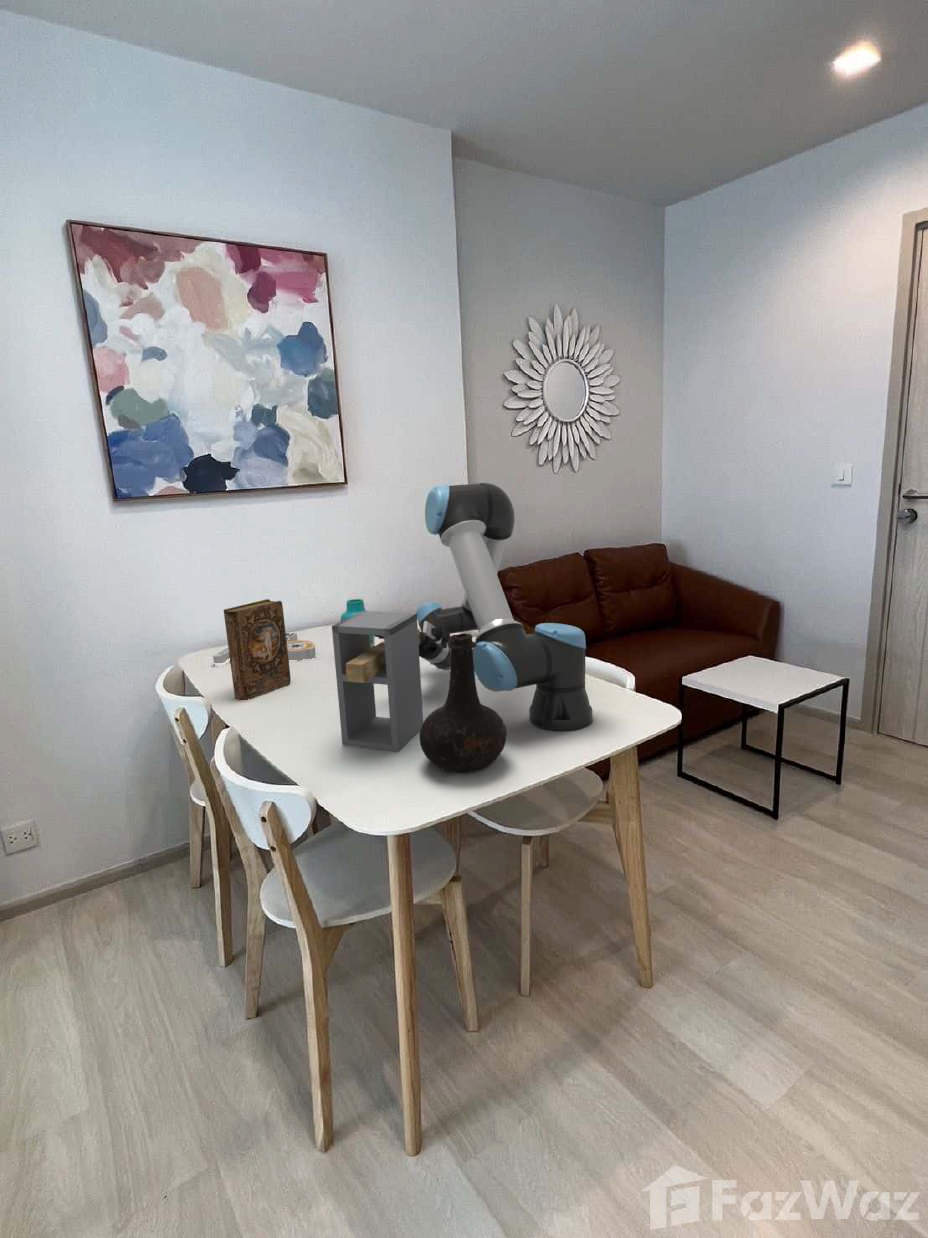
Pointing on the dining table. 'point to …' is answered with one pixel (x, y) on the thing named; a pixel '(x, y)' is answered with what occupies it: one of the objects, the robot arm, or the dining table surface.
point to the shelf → (379, 680)
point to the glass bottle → (462, 719)
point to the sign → (294, 647)
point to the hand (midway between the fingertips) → (398, 625)
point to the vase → (354, 608)
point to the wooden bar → (368, 663)
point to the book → (257, 648)
